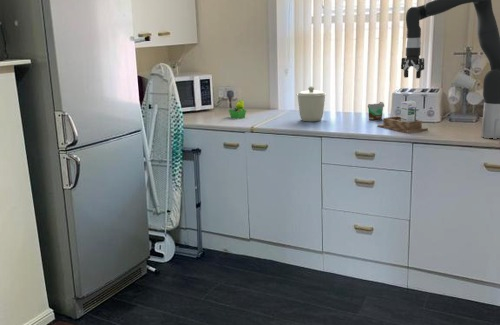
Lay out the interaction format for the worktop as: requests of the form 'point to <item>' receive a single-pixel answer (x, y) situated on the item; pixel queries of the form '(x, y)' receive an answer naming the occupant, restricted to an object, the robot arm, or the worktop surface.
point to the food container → (375, 111)
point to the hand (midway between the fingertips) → (412, 77)
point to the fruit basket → (238, 110)
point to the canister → (311, 104)
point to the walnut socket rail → (402, 125)
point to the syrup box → (408, 111)
